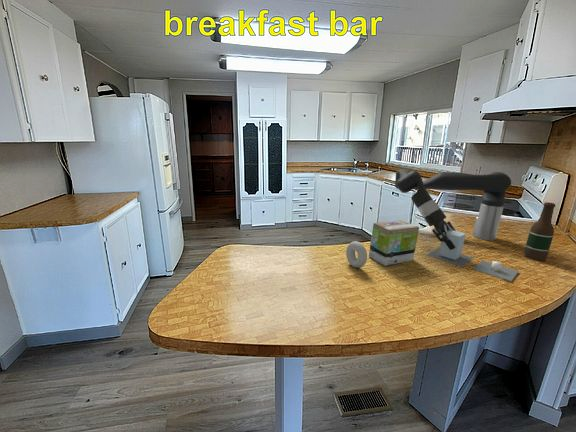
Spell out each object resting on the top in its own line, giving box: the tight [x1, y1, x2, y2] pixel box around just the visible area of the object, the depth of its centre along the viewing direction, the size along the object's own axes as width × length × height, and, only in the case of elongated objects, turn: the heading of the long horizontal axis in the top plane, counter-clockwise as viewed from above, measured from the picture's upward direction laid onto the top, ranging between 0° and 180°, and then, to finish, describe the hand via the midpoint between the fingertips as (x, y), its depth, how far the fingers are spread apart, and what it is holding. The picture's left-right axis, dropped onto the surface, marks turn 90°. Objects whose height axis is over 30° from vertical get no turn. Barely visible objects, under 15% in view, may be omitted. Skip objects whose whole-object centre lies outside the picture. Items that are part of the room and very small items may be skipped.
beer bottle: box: [523, 201, 556, 262], centre depth 119 cm, size 8×8×24 cm
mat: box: [425, 247, 474, 268], centre depth 119 cm, size 14×14×1 cm
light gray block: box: [439, 230, 467, 260], centre depth 118 cm, size 6×6×10 cm
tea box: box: [368, 219, 420, 267], centre depth 114 cm, size 15×10×15 cm, turn 115°
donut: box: [345, 240, 368, 269], centre depth 106 cm, size 10×4×10 cm, turn 26°
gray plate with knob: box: [472, 260, 520, 283], centre depth 107 cm, size 12×12×4 cm
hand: (456, 246), depth 117 cm, fingers closed on light gray block, 6 cm apart
